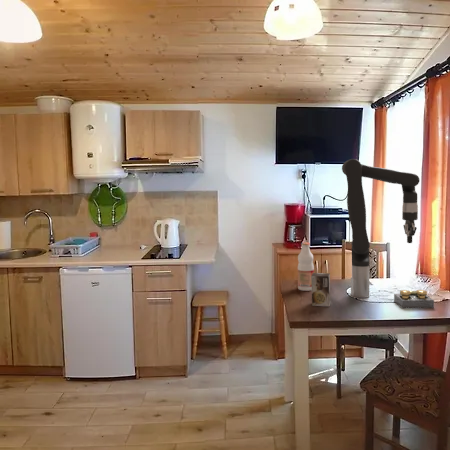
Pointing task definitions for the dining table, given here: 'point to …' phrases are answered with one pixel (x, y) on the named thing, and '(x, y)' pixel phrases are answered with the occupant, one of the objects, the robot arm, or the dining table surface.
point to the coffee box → (320, 289)
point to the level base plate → (414, 301)
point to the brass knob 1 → (405, 293)
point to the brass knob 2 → (421, 293)
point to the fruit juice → (305, 268)
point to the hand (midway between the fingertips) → (409, 242)
